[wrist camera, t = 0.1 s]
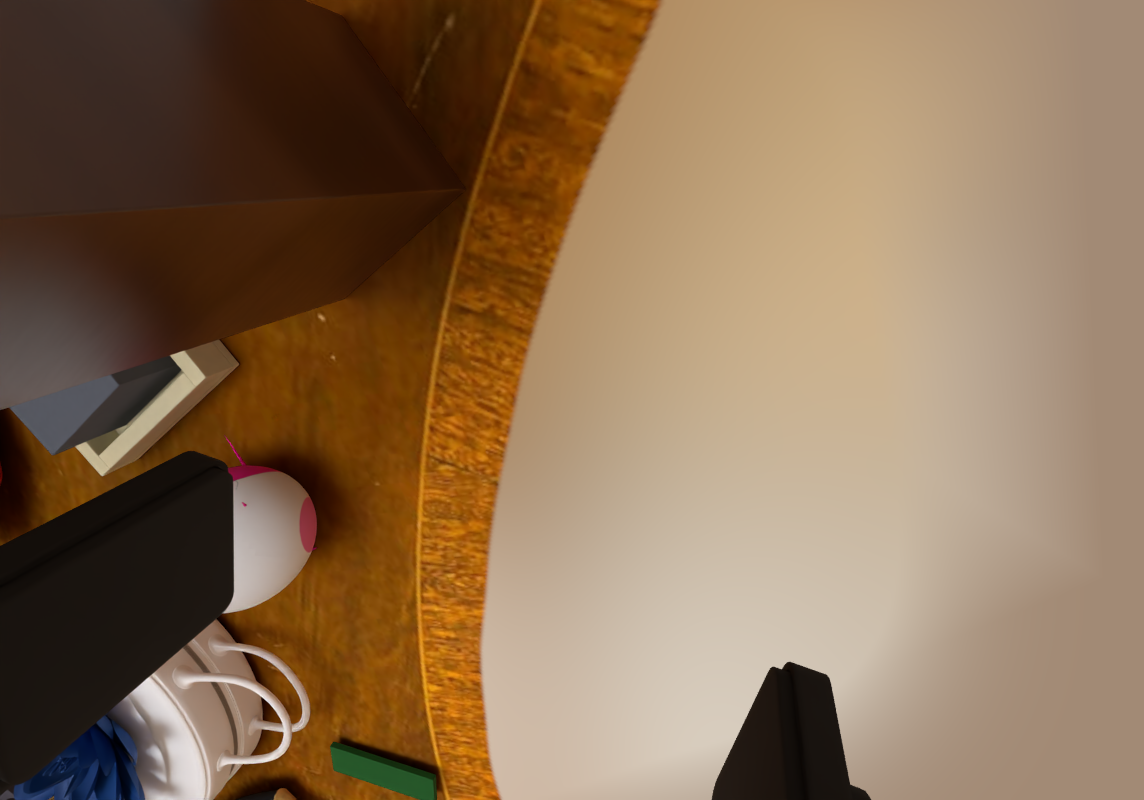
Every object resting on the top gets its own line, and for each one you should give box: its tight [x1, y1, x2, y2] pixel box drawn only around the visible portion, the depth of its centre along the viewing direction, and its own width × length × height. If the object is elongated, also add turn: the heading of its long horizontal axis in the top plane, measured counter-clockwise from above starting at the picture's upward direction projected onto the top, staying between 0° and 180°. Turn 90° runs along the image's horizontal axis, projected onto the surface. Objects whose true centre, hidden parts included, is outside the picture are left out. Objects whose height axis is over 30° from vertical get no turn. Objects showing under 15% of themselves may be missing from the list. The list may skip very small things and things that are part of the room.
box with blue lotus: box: [14, 619, 310, 800], centre depth 32 cm, size 7×16×20 cm
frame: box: [75, 340, 239, 476], centre depth 27 cm, size 9×15×2 cm, turn 37°
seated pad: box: [9, 355, 181, 455], centre depth 26 cm, size 6×6×4 cm
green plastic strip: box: [330, 742, 437, 800], centre depth 33 cm, size 6×1×2 cm
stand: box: [0, 0, 465, 410], centre depth 14 cm, size 7×7×18 cm
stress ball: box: [223, 436, 318, 613], centre depth 27 cm, size 8×8×7 cm
